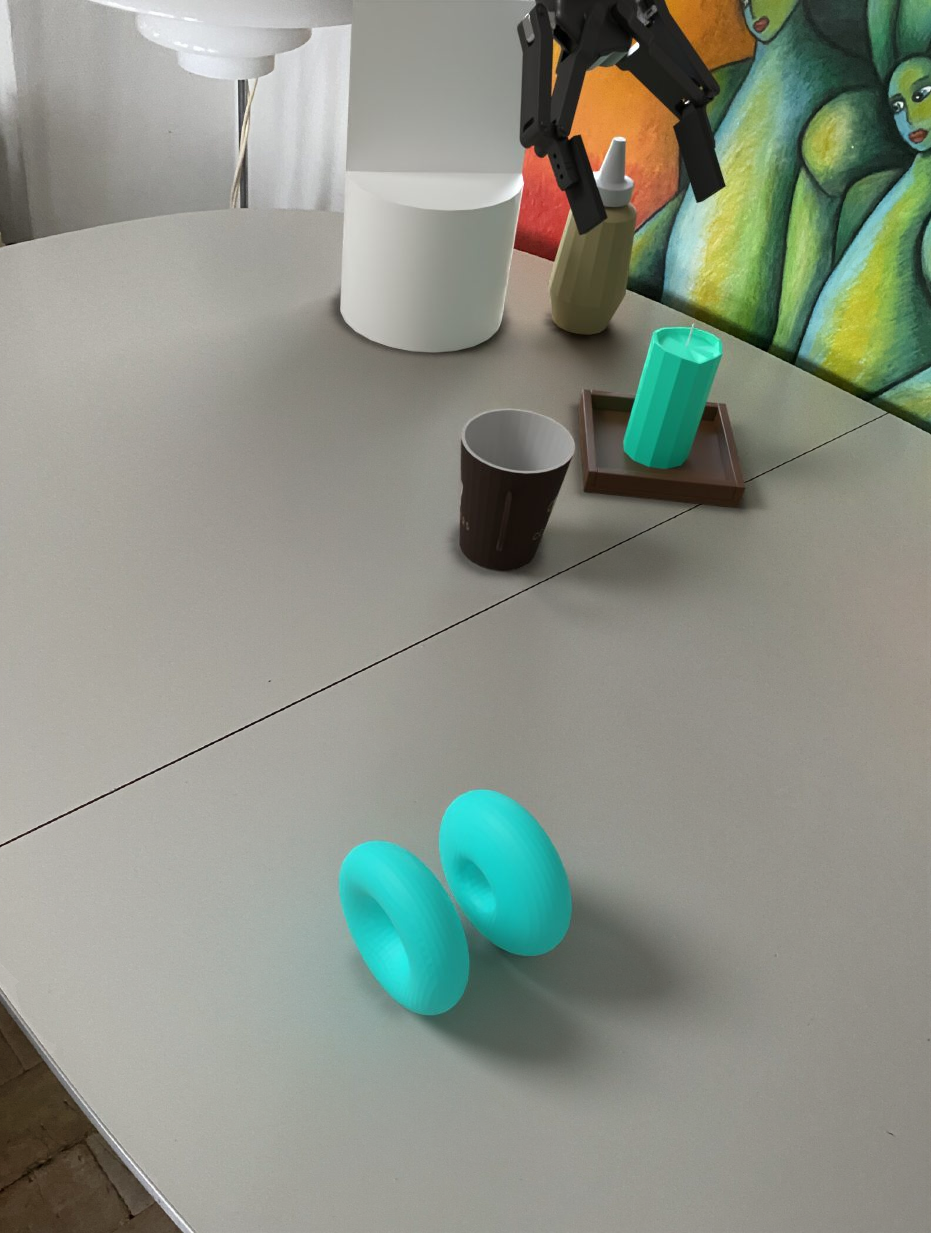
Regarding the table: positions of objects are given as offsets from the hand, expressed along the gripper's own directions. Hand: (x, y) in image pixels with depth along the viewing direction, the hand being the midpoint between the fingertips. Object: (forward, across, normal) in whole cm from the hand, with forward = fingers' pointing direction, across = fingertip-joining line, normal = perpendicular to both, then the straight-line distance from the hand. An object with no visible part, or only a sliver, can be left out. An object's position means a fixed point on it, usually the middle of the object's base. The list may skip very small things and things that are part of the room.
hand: (654, 210), depth 87 cm
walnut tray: (+19, +1, -8) cm, 20 cm away
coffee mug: (+21, +23, -6) cm, 32 cm away
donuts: (+40, +48, +13) cm, 64 cm away
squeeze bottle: (+3, -10, -24) cm, 26 cm away
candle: (+18, +1, -8) cm, 20 cm away
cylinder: (-4, +3, -31) cm, 31 cm away
